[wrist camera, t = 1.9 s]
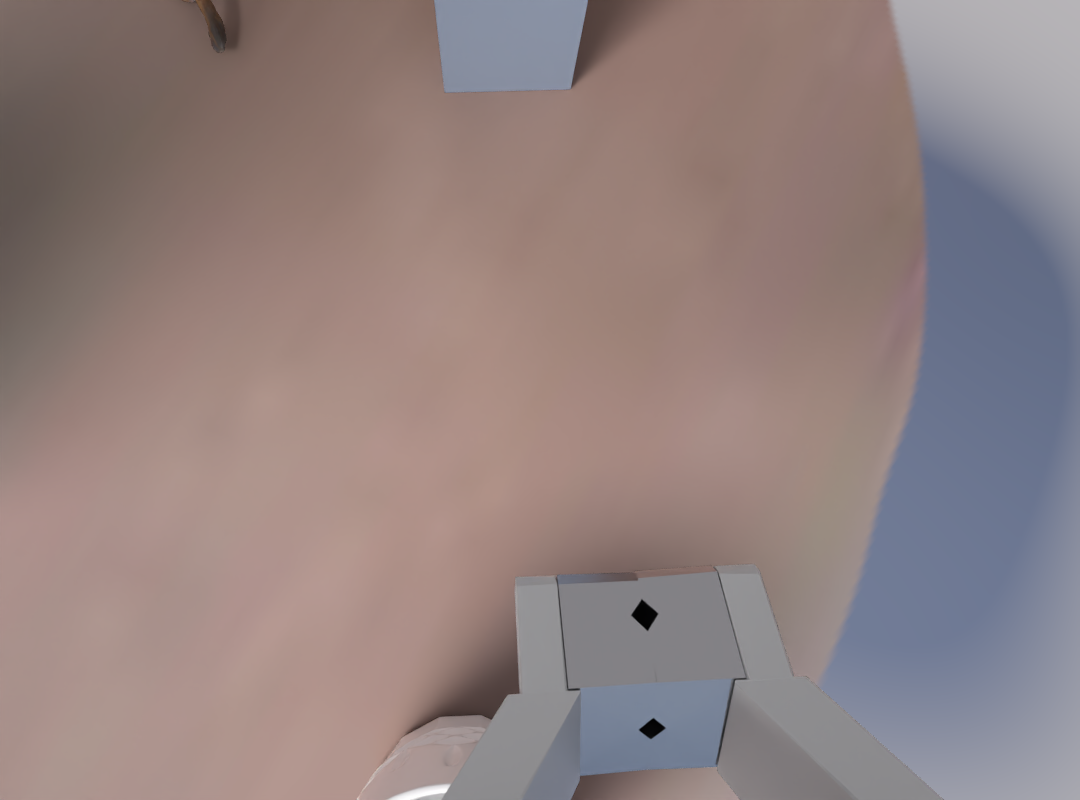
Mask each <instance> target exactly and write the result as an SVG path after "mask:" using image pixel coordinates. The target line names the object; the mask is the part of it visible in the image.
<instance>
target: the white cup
mask: <svg viewBox="0 0 1080 800" xmlns="http://www.w3.org/2000/svg"><path fill="white" fill-rule="evenodd" d="M490 722H491V719H489V718H486V717H484V716H482V715H469V716H447V717H438V718H436V719H435V720H433V721H431V722H429V723H427V724H425V725H424V726H422V727H420V728H418V729H416V730H414V731H413V732H411V733H409V734H407V735H405V736H403V737H402V738H401V740H400V741H399V742H398V744H397V745H396V746H395V748H394V749H393V750H392V752H391V753H390V754H389V756H388V757H387V759H386V760H385V761H384V763H382V764H381V765H380V766H379V767H378V768H377V770H376V771H375V772H374V773H373V775H372V776H371V778H370V779H369V781H368V782H367V784H366V785H365V787H364V788H363V790H362V792H361V793H360V795H359V796H358V798H357V799H356V800H441V799H442V798H443V796H444V795H445V793H446V792H447V790H448V788H449V787H450V785H451V784H452V782H453V780H454V779H455V777H456V776H457V774H458V773H459V771H460V769H461V768H462V766H463V765H464V763H465V761H466V760H467V758H468V757H469V755H470V754H471V752H472V750H473V749H474V747H475V746H476V744H477V742H478V741H479V739H480V738H481V736H482V734H483V733H484V731H485V730H486V728H487V727H488V725H489V723H490Z"/></svg>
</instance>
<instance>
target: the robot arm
mask: <svg viewBox="0 0 1080 800" xmlns="http://www.w3.org/2000/svg"><path fill="white" fill-rule="evenodd" d="M515 606H516V628H517V649H518V671H519V692H520V694H510V695H507V696H506V698H505V700H504V701H503V703H502V704H501V706H500V708H499V709H498V711H497V712H496V714H495V715H494V717H493V719H492V720H491V722H490V723H489V725H488V727H487V728H486V730H485V731H484V733H483V734H482V736H481V738H480V739H479V741H478V742H477V744H476V746H475V747H474V749H473V750H472V752H471V754H470V755H469V757H468V758H467V760H466V761H465V763H464V765H463V766H462V768H461V769H460V771H459V773H458V774H457V776H456V777H455V779H454V780H453V782H452V784H451V785H450V787H449V788H448V790H447V792H446V793H445V795H444V796H443V798H442V799H441V800H571V798H572V796H573V794H574V792H575V790H576V788H577V785H578V783H579V781H580V776H584V775H595V774H606V773H617V772H627V771H638V770H652V769H678V768H704V767H717V772H718V773H719V774H720V775H721V776H722V778H723V779H724V780H725V781H726V783H727V784H728V785H729V786H730V788H731V789H732V790H733V791H734V793H735V794H736V795H737V796H738V798H739V799H740V800H944V799H943V798H942V797H940V796H939V795H938V794H937V793H936V792H935V791H934V790H933V789H931V788H930V787H929V786H928V785H927V784H926V783H925V782H924V781H923V780H921V779H920V778H919V777H918V776H917V775H916V774H915V773H914V772H912V771H911V770H910V769H909V768H908V767H907V766H906V765H905V764H903V763H902V762H901V761H900V760H899V759H898V758H897V757H896V756H895V755H894V754H892V753H891V752H890V751H889V750H888V749H887V748H886V747H884V745H882V744H881V743H880V742H879V741H878V740H877V739H876V738H875V737H874V736H872V735H871V734H870V733H869V732H868V731H867V730H866V729H865V728H863V727H862V726H861V725H860V724H859V723H858V722H857V721H856V720H854V719H853V718H852V717H851V716H850V715H849V714H848V713H847V712H846V711H845V710H843V709H842V708H841V707H840V706H839V705H838V704H837V703H836V702H834V701H833V700H832V699H831V698H830V697H829V696H828V695H827V694H825V693H824V692H823V691H822V690H821V689H820V688H819V687H818V686H817V685H816V684H814V683H813V682H812V681H811V680H810V679H809V678H808V677H807V676H794V675H793V672H792V668H791V665H790V662H789V659H788V656H787V653H786V650H785V647H784V644H783V641H782V638H781V635H780V632H779V629H778V625H777V622H776V619H775V616H774V613H773V610H772V607H771V604H770V601H769V598H768V595H767V592H766V589H765V586H764V582H763V579H762V576H761V573H760V570H759V569H758V568H757V567H756V566H755V565H754V564H742V565H725V566H714V567H712V566H697V567H683V568H669V569H655V570H641V571H634V572H633V573H601V574H570V575H557V576H555V575H548V576H526V577H516V579H515Z"/></svg>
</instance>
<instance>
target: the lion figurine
mask: <svg viewBox="0 0 1080 800" xmlns="http://www.w3.org/2000/svg"><path fill="white" fill-rule="evenodd" d="M182 1H185V2H195V1H196V2H197V4H198V6H199V8H200V10H201V11H202V13H203V15H204V16H205V19H206V22H207V25H208V29H209V37H210V38H211V42H212V46H213V48H214V50H215V51H216V52H221V53H222V52H223V51H224V50H225V43H226V33H225V28H224V25H223V21H222V19H221V18H220V16H219V14H218V13H217V11H216V9H215V7H214V5H213V3H212V2H211V0H182Z"/></svg>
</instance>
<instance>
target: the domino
mask: <svg viewBox="0 0 1080 800" xmlns="http://www.w3.org/2000/svg"><path fill="white" fill-rule="evenodd" d="M434 3H435V12H436V21H437V30H438V38H439V47H440V56H441V65H442V74H443V83H444V91H445V93H452V92H490V91H527V90H565V89H571V84H572V79H573V74H574V69H575V64H576V59H577V54H578V49H579V44H580V39H581V33H582V28H583V23H584V18H585V13H586V8H587V3H588V0H434Z"/></svg>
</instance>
